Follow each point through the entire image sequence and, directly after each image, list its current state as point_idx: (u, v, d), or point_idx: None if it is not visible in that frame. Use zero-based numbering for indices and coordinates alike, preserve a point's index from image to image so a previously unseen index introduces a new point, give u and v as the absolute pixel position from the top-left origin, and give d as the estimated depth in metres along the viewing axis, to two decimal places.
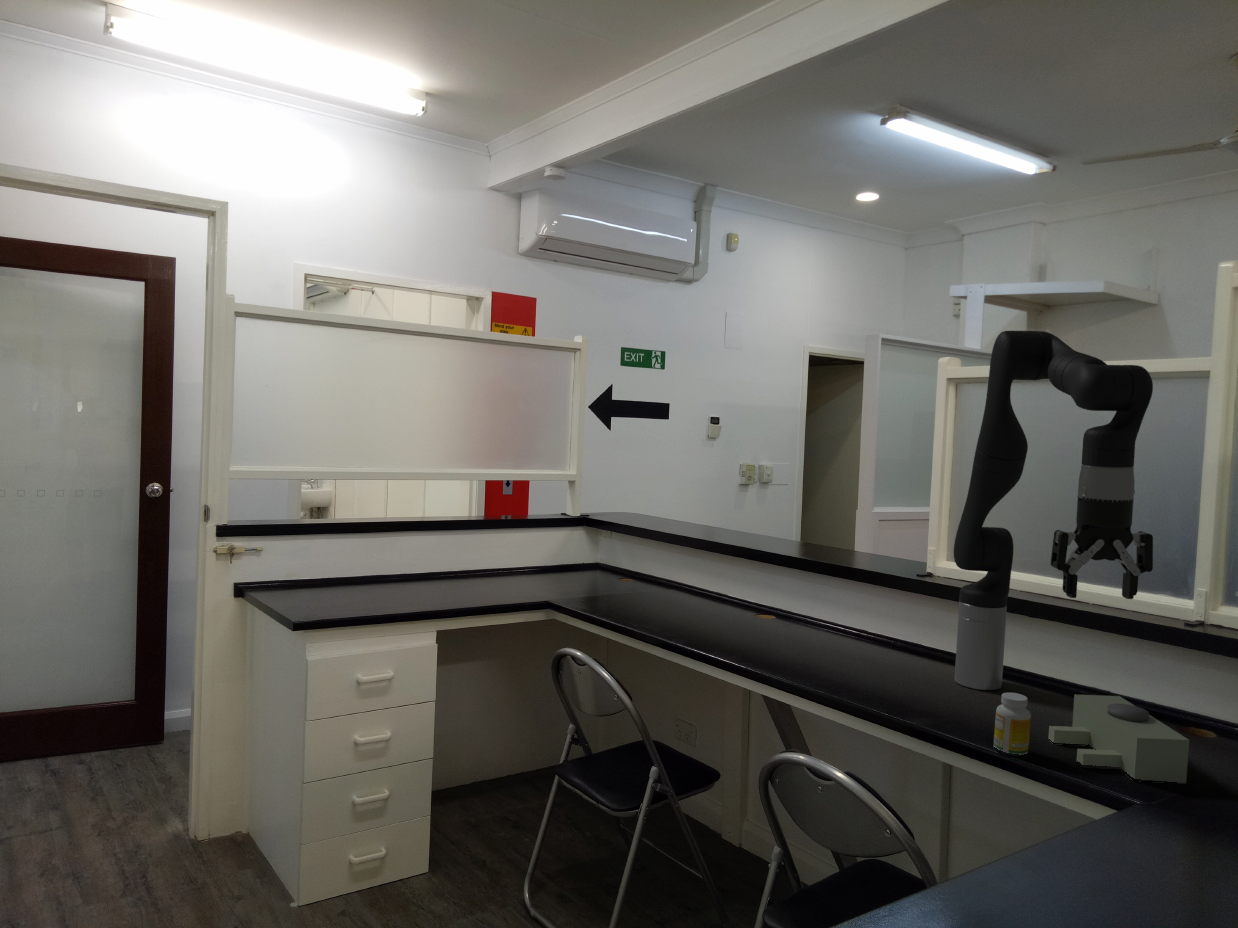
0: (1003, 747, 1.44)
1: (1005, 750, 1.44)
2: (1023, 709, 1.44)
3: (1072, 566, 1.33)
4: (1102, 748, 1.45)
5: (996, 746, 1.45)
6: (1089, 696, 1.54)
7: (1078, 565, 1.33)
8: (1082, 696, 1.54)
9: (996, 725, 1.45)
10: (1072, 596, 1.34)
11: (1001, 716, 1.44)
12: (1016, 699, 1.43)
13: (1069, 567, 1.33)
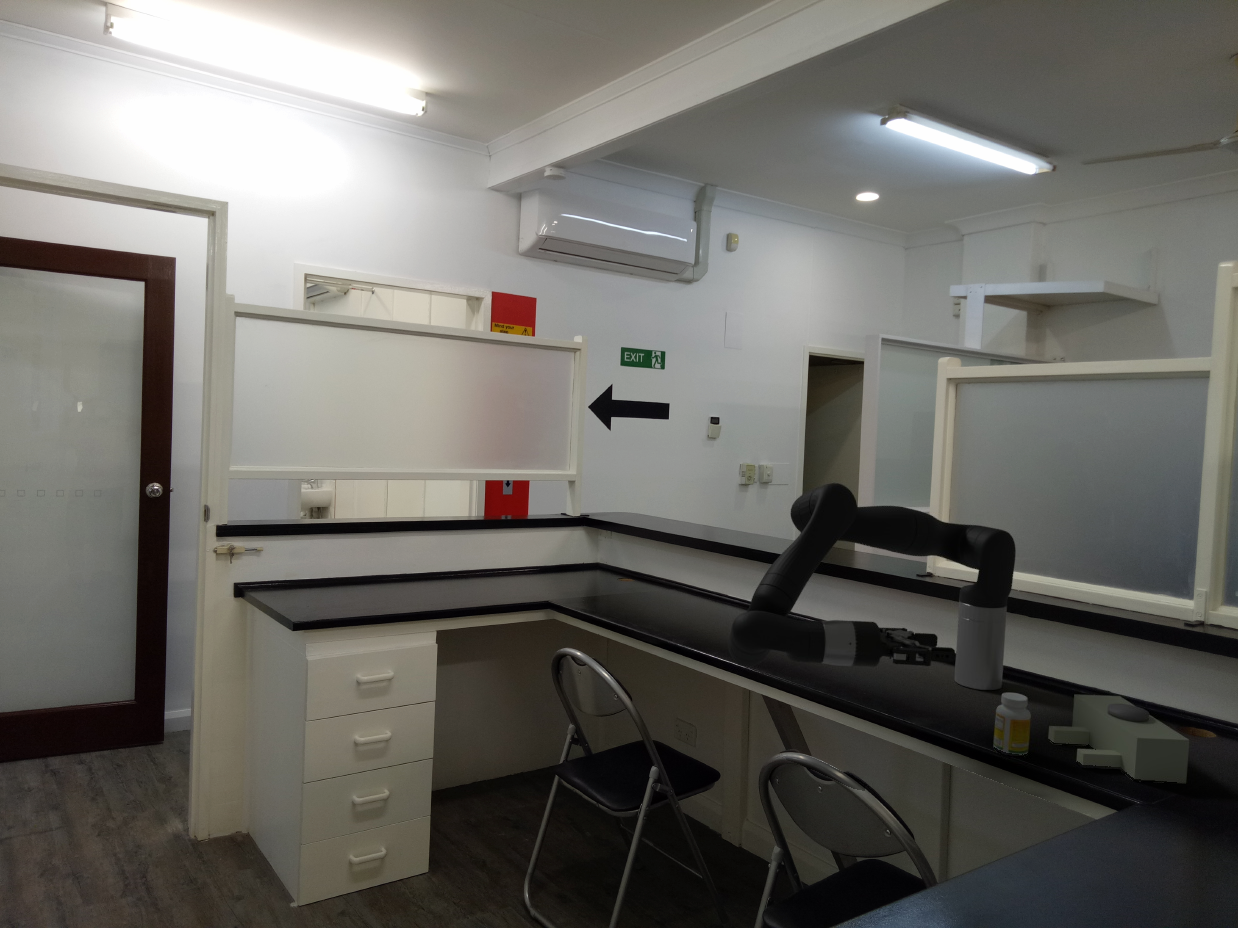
0: (1003, 747, 1.44)
1: (1005, 750, 1.44)
2: (1023, 709, 1.44)
3: None
4: (1102, 748, 1.45)
5: (996, 746, 1.45)
6: (1089, 696, 1.54)
7: None
8: (1082, 696, 1.54)
9: (996, 725, 1.45)
10: None
11: (1001, 716, 1.44)
12: (1016, 699, 1.43)
13: None
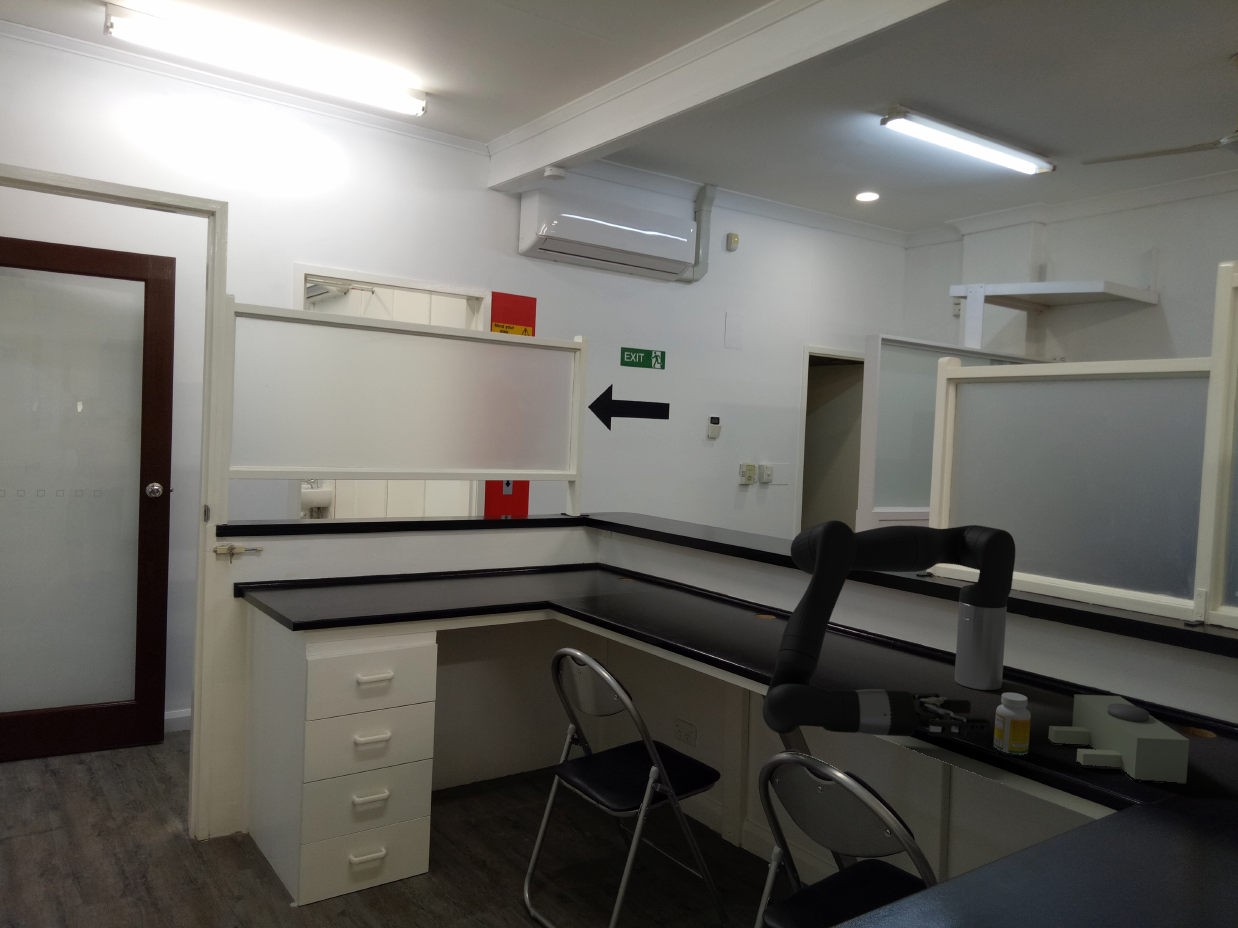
0: (1003, 747, 1.44)
1: (1005, 750, 1.44)
2: (1023, 709, 1.44)
3: None
4: (1102, 748, 1.45)
5: (996, 746, 1.45)
6: (1089, 696, 1.54)
7: None
8: (1082, 696, 1.54)
9: (996, 725, 1.45)
10: None
11: (1001, 716, 1.44)
12: (1016, 699, 1.43)
13: None
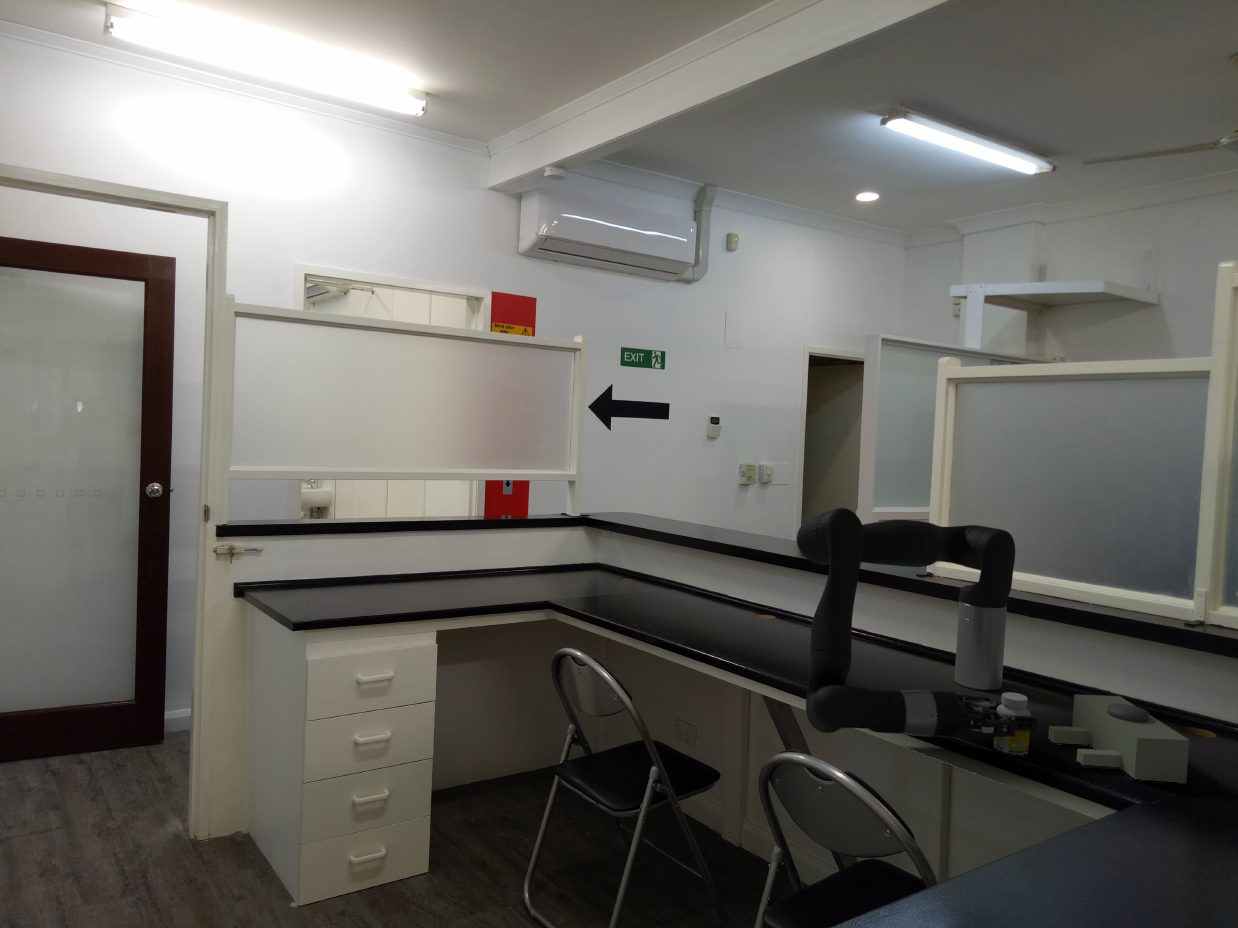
0: (1003, 746, 1.44)
1: (1005, 750, 1.44)
2: (1023, 709, 1.44)
3: None
4: (1102, 748, 1.45)
5: (996, 746, 1.45)
6: (1089, 696, 1.54)
7: None
8: (1082, 696, 1.54)
9: None
10: None
11: None
12: (1016, 699, 1.43)
13: None
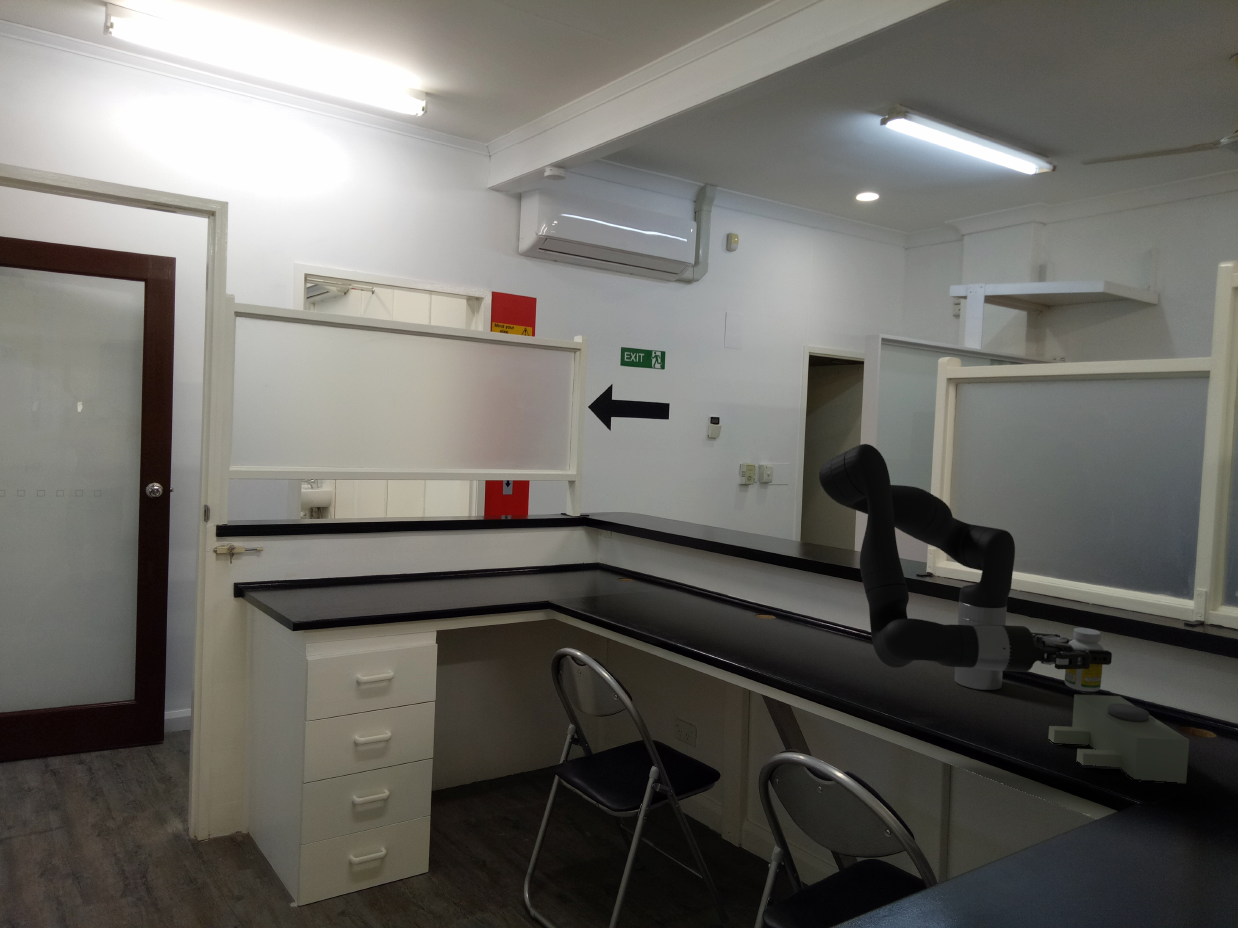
0: (1075, 681, 1.43)
1: (1077, 684, 1.42)
2: (1096, 643, 1.42)
3: None
4: (1102, 748, 1.45)
5: (1068, 681, 1.44)
6: (1089, 696, 1.54)
7: None
8: (1082, 696, 1.54)
9: None
10: None
11: None
12: (1089, 633, 1.42)
13: None
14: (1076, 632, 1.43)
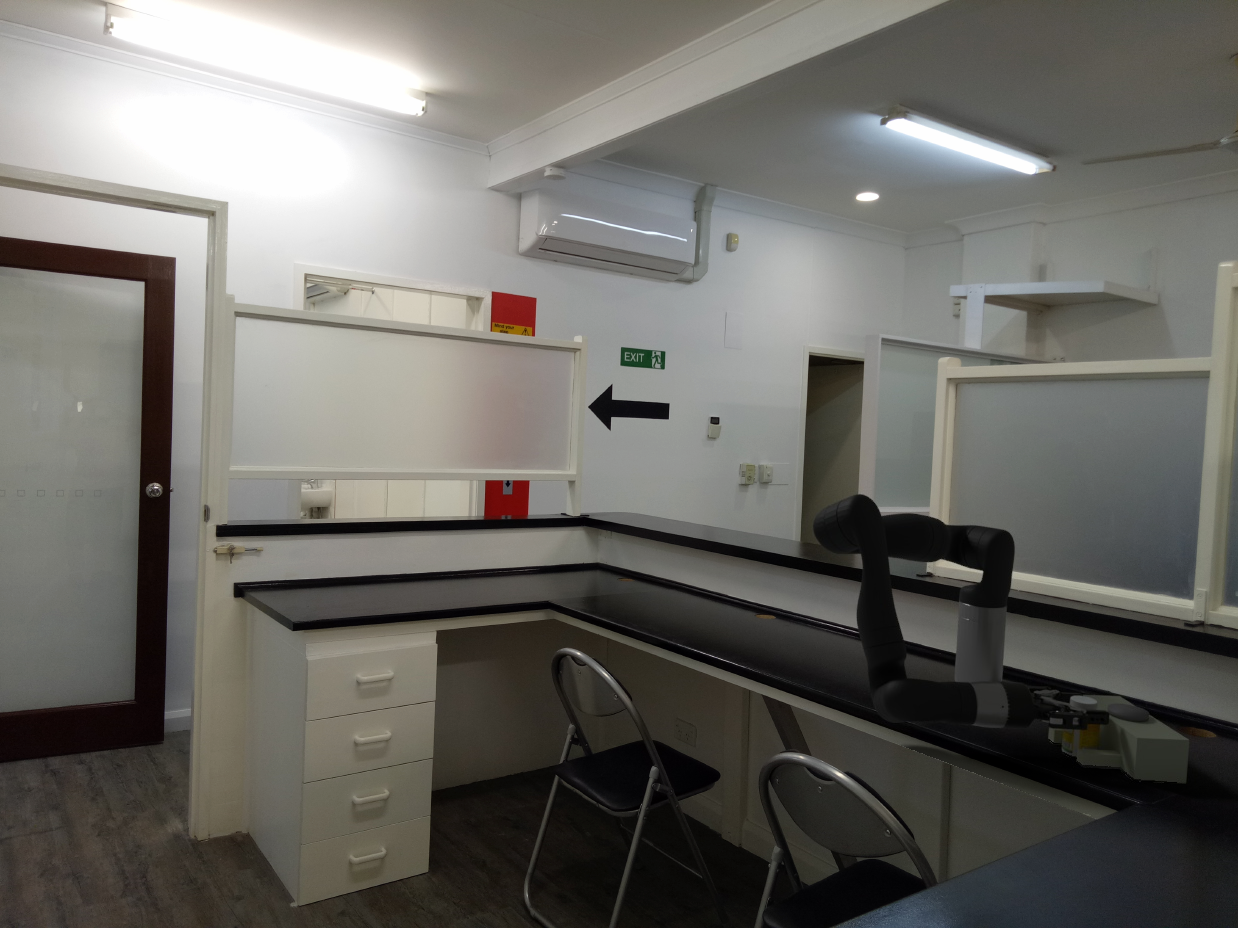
0: (1072, 750, 1.43)
1: (1075, 753, 1.43)
2: None
3: None
4: (1102, 748, 1.45)
5: (1065, 749, 1.45)
6: (1089, 696, 1.54)
7: None
8: None
9: None
10: None
11: None
12: (1086, 702, 1.43)
13: None
14: (1073, 701, 1.44)
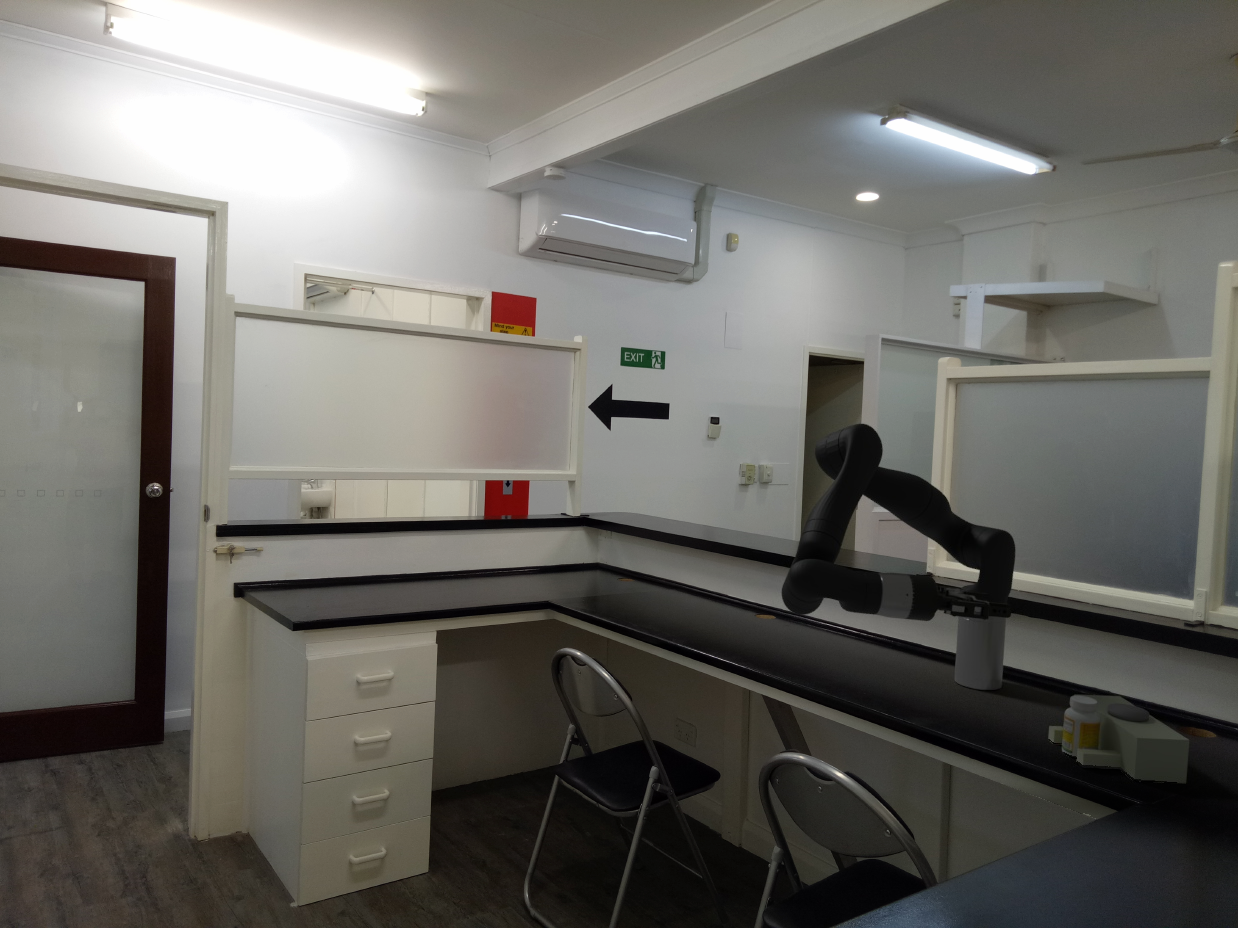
0: (1072, 750, 1.43)
1: (1075, 753, 1.43)
2: (1093, 712, 1.43)
3: None
4: (1102, 748, 1.45)
5: (1065, 749, 1.45)
6: (1089, 696, 1.54)
7: None
8: None
9: (1065, 728, 1.45)
10: None
11: (1070, 719, 1.43)
12: (1086, 702, 1.43)
13: None
14: (1073, 701, 1.44)
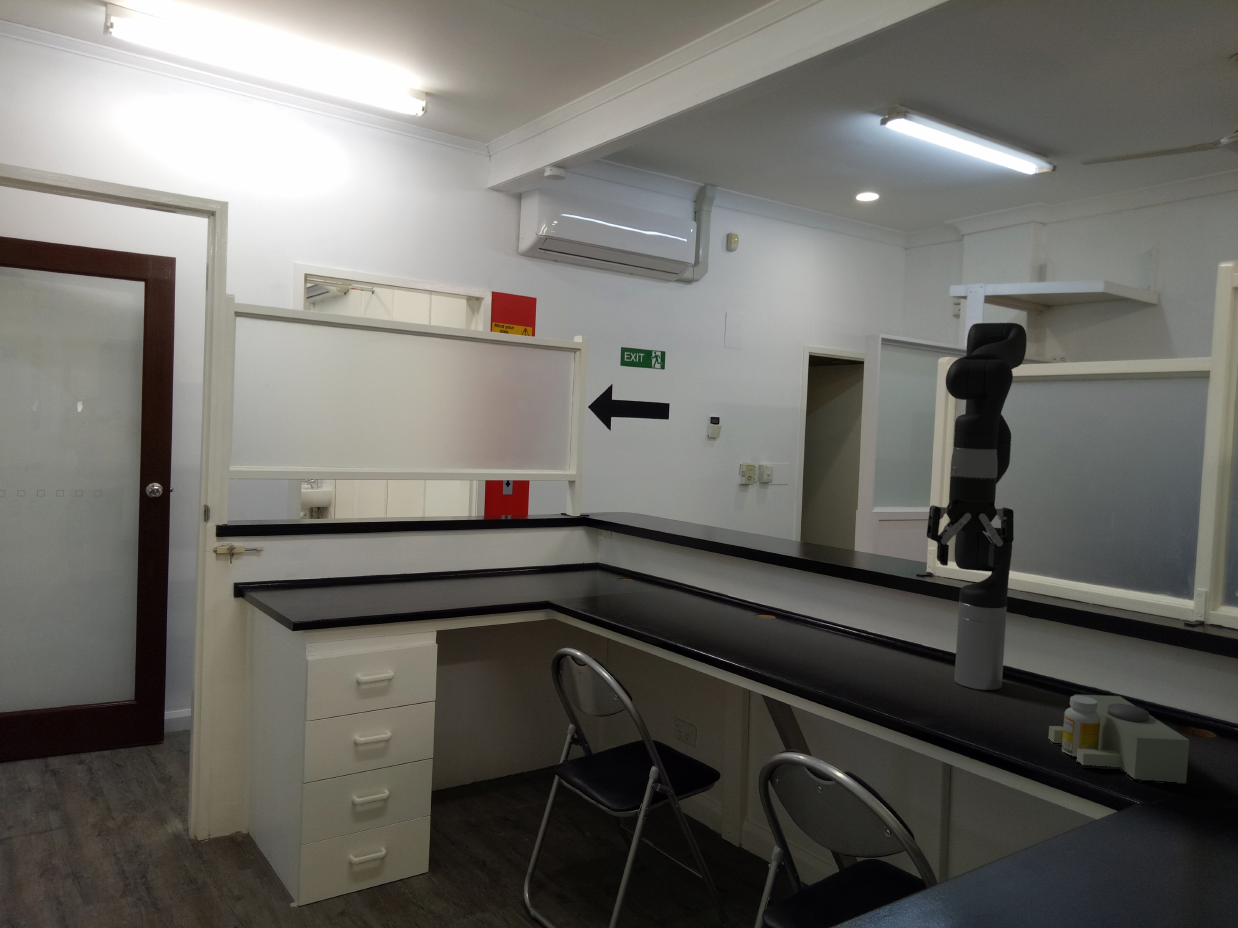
0: (1072, 750, 1.43)
1: (1075, 753, 1.43)
2: (1093, 712, 1.43)
3: (944, 537, 1.50)
4: (1102, 748, 1.45)
5: (1065, 749, 1.45)
6: (1089, 696, 1.54)
7: (949, 536, 1.50)
8: None
9: (1065, 728, 1.45)
10: (944, 564, 1.51)
11: (1070, 719, 1.43)
12: (1086, 702, 1.43)
13: (941, 538, 1.50)
14: (1073, 701, 1.44)
